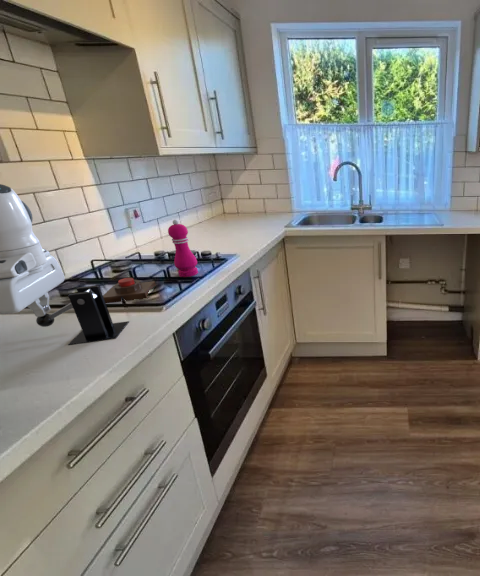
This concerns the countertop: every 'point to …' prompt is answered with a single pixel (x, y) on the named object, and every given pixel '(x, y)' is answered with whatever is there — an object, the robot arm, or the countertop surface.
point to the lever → (56, 314)
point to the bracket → (93, 317)
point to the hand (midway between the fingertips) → (43, 313)
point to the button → (126, 282)
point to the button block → (128, 292)
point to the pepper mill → (182, 250)
